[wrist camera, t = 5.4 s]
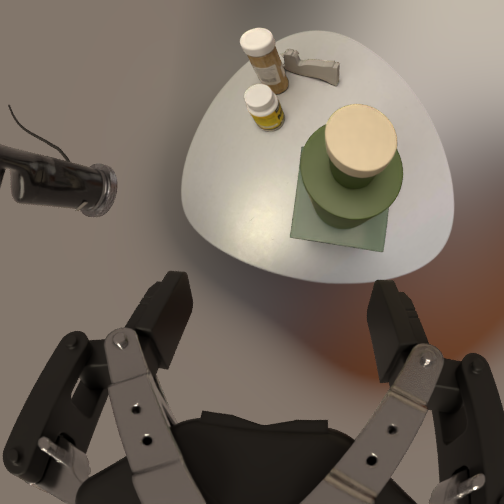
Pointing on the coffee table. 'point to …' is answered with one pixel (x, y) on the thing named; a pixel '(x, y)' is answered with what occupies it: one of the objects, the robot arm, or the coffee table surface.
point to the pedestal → (317, 230)
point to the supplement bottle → (264, 107)
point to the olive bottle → (352, 166)
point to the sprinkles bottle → (265, 58)
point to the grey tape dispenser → (311, 67)
